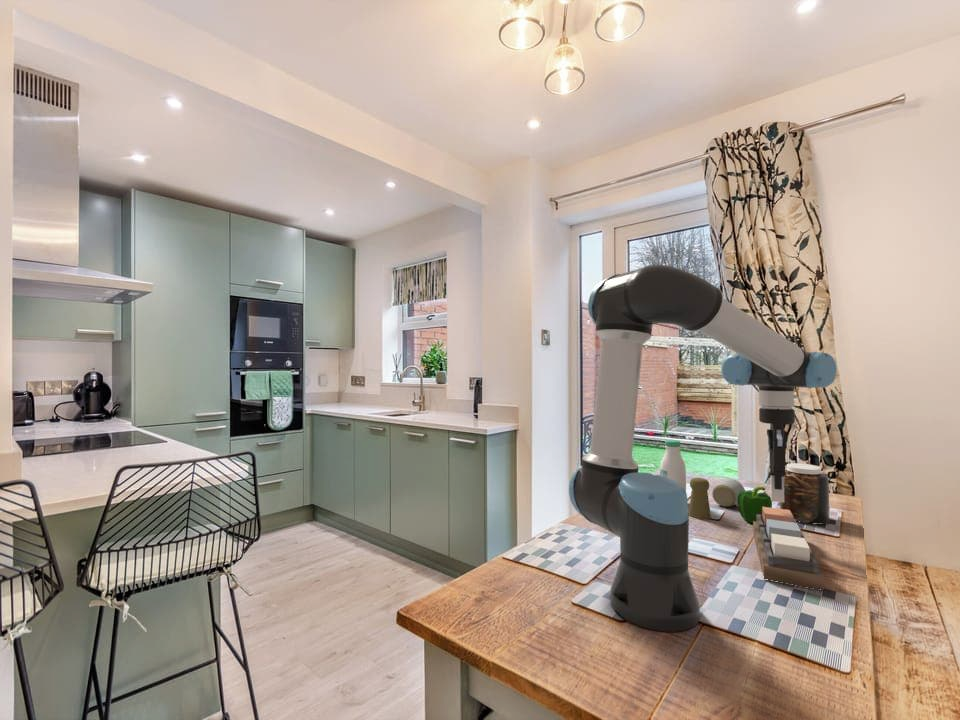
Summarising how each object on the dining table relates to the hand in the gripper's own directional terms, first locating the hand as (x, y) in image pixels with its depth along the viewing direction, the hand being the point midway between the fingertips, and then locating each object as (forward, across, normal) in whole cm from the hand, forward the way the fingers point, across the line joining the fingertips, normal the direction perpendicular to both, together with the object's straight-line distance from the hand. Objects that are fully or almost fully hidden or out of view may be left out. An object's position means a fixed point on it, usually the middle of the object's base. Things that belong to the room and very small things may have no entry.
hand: (777, 500), depth 114 cm
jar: (+11, +24, -9) cm, 28 cm away
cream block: (+6, -21, 0) cm, 22 cm away
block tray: (+10, -11, 0) cm, 15 cm away
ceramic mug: (+11, +28, +9) cm, 31 cm away
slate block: (+6, -11, 0) cm, 12 cm away
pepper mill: (+10, +12, +18) cm, 24 cm away
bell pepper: (+11, +14, +4) cm, 18 cm away
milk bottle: (+10, +22, +26) cm, 36 cm away
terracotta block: (+6, 0, 0) cm, 6 cm away
